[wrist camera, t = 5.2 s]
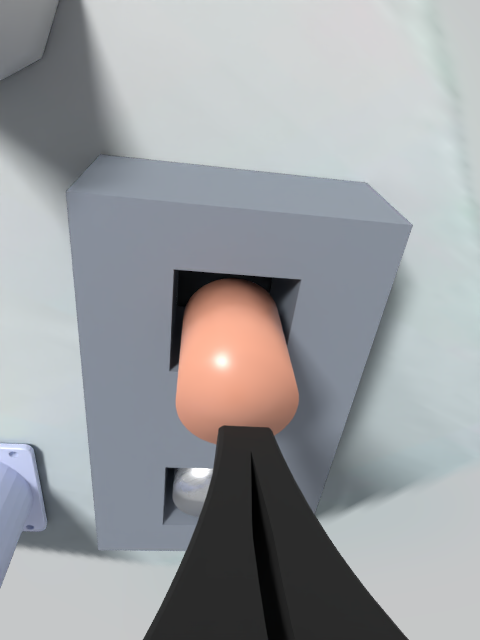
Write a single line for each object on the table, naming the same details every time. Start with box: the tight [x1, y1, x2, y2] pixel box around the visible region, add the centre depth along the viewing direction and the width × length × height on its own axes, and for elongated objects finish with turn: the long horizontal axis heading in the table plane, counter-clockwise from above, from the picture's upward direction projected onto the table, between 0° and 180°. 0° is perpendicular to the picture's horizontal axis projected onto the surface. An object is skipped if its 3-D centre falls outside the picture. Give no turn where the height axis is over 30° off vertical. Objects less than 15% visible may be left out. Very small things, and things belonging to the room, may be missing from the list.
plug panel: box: [66, 154, 413, 551], centre depth 21 cm, size 11×19×5 cm, turn 174°
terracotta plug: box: [176, 278, 299, 444], centre depth 15 cm, size 4×4×4 cm
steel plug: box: [172, 468, 213, 517], centre depth 24 cm, size 4×4×4 cm
